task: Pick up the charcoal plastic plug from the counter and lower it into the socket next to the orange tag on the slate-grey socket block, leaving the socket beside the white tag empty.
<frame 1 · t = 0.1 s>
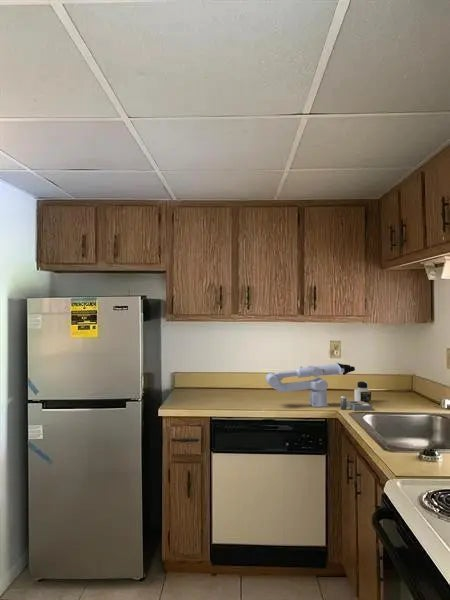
hand: (352, 367, 285), 22 cm above the worktop, tool horizontal, fingers open, 7 cm apart
plug: (343, 409, 273), on the worktop
socket block: (358, 408, 276), on the worktop
medicine bottle: (362, 402, 293), on the worktop
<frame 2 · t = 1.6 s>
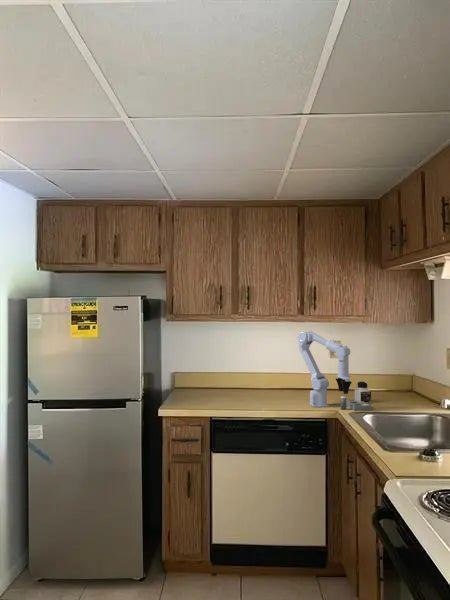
hand: (343, 392, 273), 9 cm above the worktop, tool pointing down, fingers open, 7 cm apart
nothing on the worktop moved.
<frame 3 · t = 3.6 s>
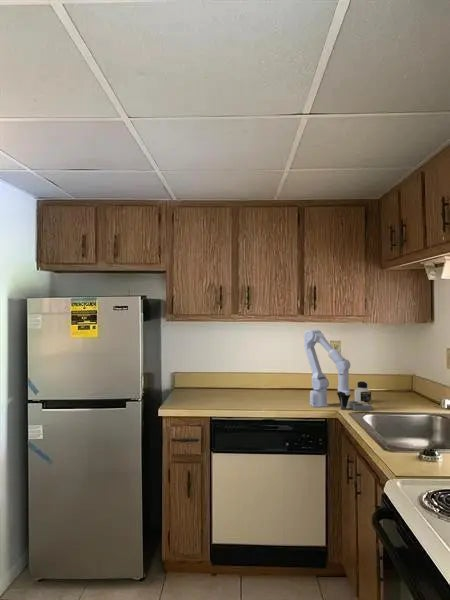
hand: (343, 405, 273), 2 cm above the worktop, tool pointing down, fingers closed on plug, 3 cm apart
plug: (343, 409, 273), on the worktop, touching gripper
everything else where it was.
when the fingers open (3 cm above the worktop, at t = 7.3 s): plug drops 1 cm, resting in socket block.
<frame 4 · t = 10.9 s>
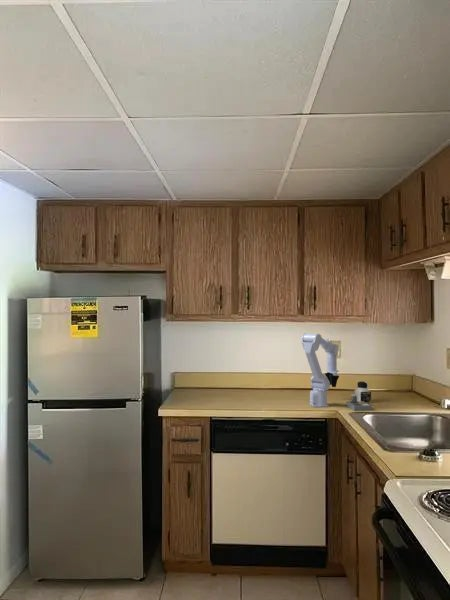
hand: (331, 385, 294), 9 cm above the worktop, tool pointing down, fingers open, 7 cm apart
plug: (354, 406, 279), resting in socket block
everything else where it was.
at the end: plug 0.1 cm from the target spot on the socket block, point 0.0 cm above the socket block's base; plug tilted 0°; the gripper is holding nothing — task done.
